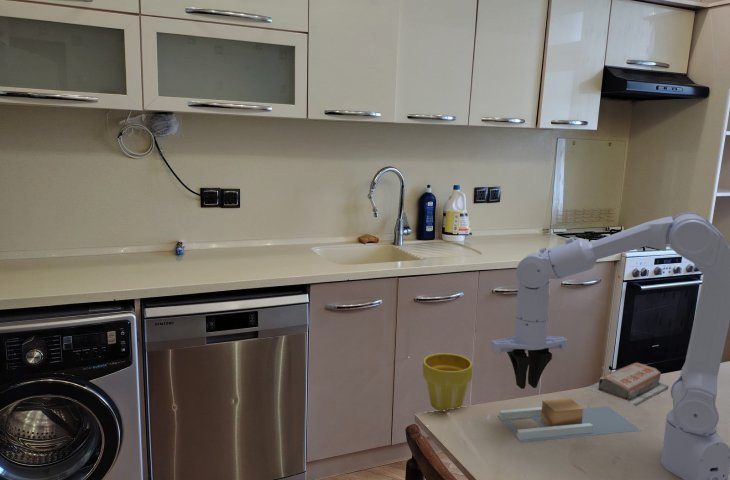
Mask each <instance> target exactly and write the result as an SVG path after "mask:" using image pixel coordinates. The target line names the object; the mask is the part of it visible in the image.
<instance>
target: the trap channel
mask: <svg viewBox="0 0 730 480" xmlns="http://www.w3.org/2000/svg"><path fill="white" fill-rule="evenodd" d="M582 408H583V417H582V424H574V425H563V426H553V427H549V426H548V425H547V424H546V423H544V422H543V421H542V420H541V413H542V406H537V407H527V408H525V407H524V408H515V409H504V410H503V409H500V410H499V415H497V417H498V418H499V419H500V421H501V422H502V423H503V424H504V425H505V426H506V427H507V428H508V429H509V430H510V431H511V433H512V434H513V435H514V436H515V437H516V438H517V439H518V440H519V442H520V443H531V442H538V441H539V442H540V441H549V440H561V439H569V438H578V437H579V438H581V437H591V436H592V437H593V436H603V435H612V434H622V433H631V432H632V433H633V432H641V431H642V429H640V428H638V427H637V426H636V425H635V424H634V423H631V422H630V421H629V420H628V419H626V417H623V416H622V415H621V414H620V413H618V412H617V411H615V410H614V409H613V408H611V407H610V406H609V405H606V406H595V407H582ZM528 418H529V419H530V418H531V419H532V420H533V421H535V423H537V425H538V426H539V427H533V428H524V429H523V428H522V429H521V428H520V429H518V428H517V427H516V426H515V425H514V423H512V421H511V420H517V419H519V420H522V419H528Z"/></svg>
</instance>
